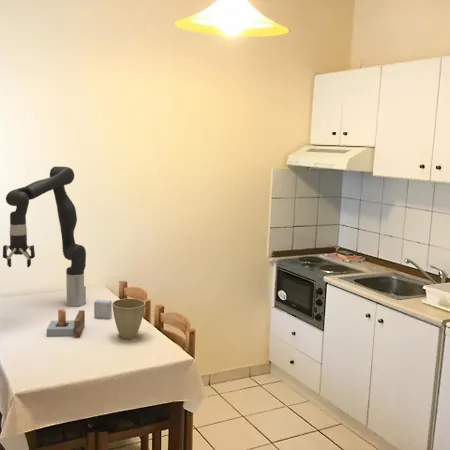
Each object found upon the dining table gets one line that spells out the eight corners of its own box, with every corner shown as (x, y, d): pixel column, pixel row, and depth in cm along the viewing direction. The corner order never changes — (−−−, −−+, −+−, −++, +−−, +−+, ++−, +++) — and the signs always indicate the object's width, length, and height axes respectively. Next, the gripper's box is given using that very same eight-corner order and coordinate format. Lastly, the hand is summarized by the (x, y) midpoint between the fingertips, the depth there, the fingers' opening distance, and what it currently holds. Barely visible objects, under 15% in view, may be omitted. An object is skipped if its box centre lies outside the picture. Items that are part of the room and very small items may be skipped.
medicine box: (111, 316, 288) (111, 300, 287) (109, 319, 284) (109, 302, 283) (96, 315, 289) (96, 299, 288) (94, 318, 285) (93, 301, 283)
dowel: (63, 329, 267) (63, 308, 265) (67, 331, 264) (67, 310, 263) (57, 330, 264) (56, 310, 263) (60, 332, 262) (60, 311, 260)
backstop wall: (74, 337, 258) (74, 320, 256) (79, 326, 272) (79, 310, 271) (79, 337, 258) (79, 320, 257) (84, 326, 273) (84, 310, 271)
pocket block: (46, 337, 258) (46, 329, 257) (51, 328, 270) (51, 320, 269) (73, 337, 259) (73, 328, 259) (77, 328, 271) (77, 320, 271)
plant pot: (113, 343, 253) (113, 308, 250) (111, 331, 267) (111, 299, 264) (146, 340, 257) (147, 307, 254) (142, 329, 271) (143, 297, 268)
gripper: (35, 232, 272) (36, 265, 274) (5, 231, 270) (6, 264, 273) (31, 235, 264) (32, 268, 267) (0, 234, 263) (1, 268, 265)
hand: (19, 266), depth 270 cm, fingers open, 8 cm apart
